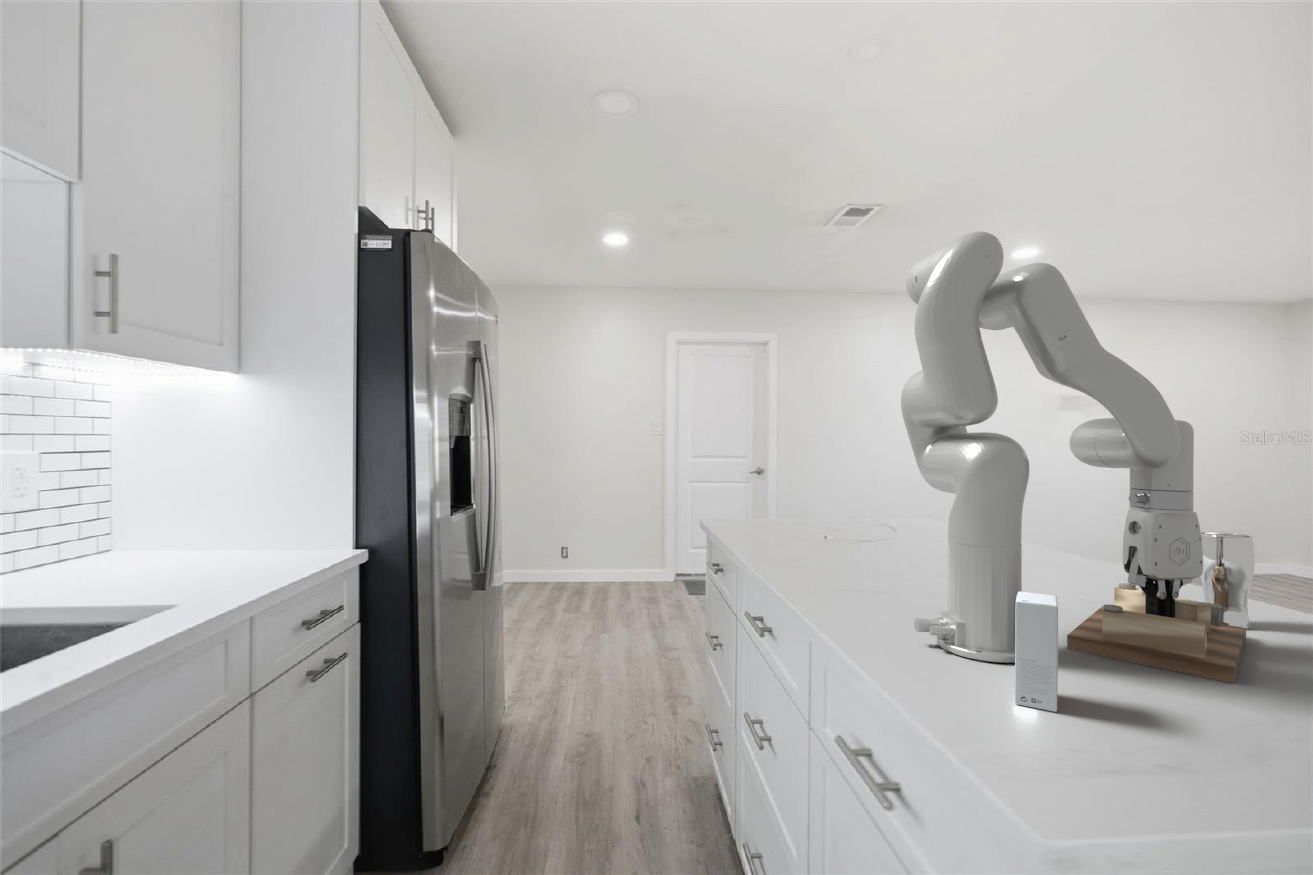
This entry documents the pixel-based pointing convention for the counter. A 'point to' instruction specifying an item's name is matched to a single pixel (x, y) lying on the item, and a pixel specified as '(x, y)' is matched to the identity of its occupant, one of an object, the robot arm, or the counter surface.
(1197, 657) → the stool frame
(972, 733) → the counter surface
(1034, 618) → the skincare box
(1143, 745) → the counter surface
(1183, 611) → the hinged leg
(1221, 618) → the beer glass
